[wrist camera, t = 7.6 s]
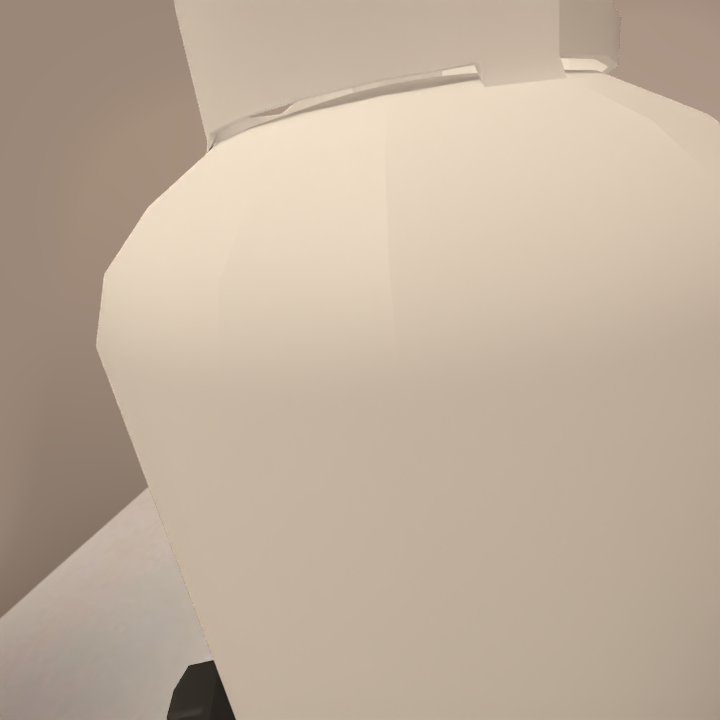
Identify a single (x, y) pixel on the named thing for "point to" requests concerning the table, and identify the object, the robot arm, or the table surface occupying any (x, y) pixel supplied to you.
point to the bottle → (433, 365)
